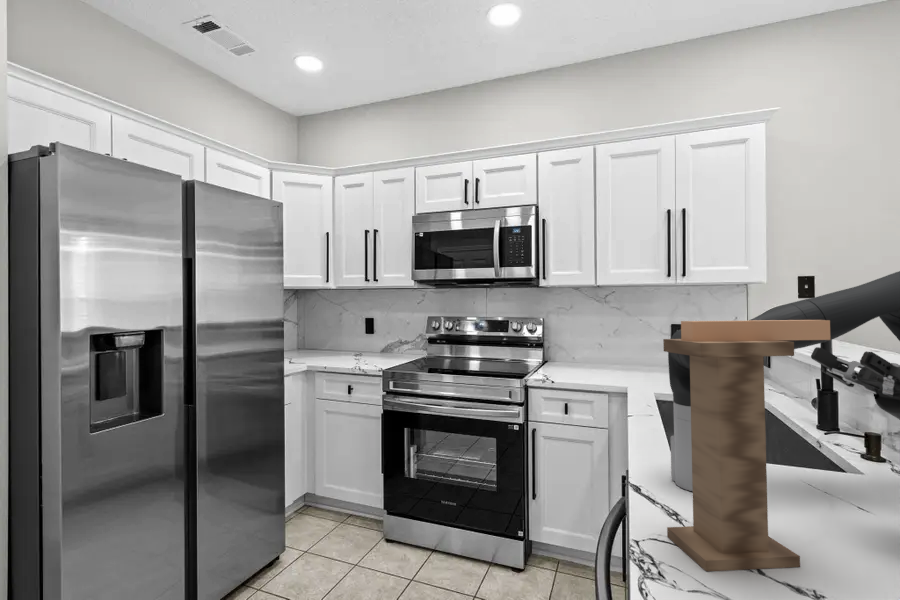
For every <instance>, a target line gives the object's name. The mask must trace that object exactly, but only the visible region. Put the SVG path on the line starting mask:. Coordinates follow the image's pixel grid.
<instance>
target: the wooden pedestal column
mask: <svg viewBox="0 0 900 600" xmlns="http://www.w3.org/2000/svg"><path fill="white" fill-rule="evenodd" d="M662 339H663V352H666V353H668V352H671V353H677V354H684V355H690V395H691V441H692V486H693V491H692V519H693V520H692V522H693V523H692V524H693V525H692V526H691V525H690V526H669V527H668V526H667V527H666V528H667V529H666V530H667V531H666V534H667V535H666V536H667V538H668V539H669V540H670V541H671V542H673V543H674V544H675V545H676V546H677V547H678V548H679V549H681V551H683V552H684V553H685V554H686V555H688V557H689V558H690V559H692V560H693V561H694V562H695V563H696V564H697V565H698V566H699V567H700V568H702V569H703V570H704V571H705V572H723V571H725V572H727V571H739V570H740V571H743V570H744V571H745V570H762V569H763V570H765V569H780V568H781V569H782V568H783V569H784V568H785V569H786V568H800V567H801V556H800V555H799V554H797V553H796V552H794V551H792V550H791V549H790V548H788V547H786V546H785V545H784V544H781V543H780V542H778V541H777V540H775V539H774V538H773V537H771V536H769V521H768V519H769V518H768V516H769V515H768V488H767V487H768V478H767V477H768V475H767V442H766V441H767V440H766V439H767V437H766V436H767V435H766V405H765V404H766V403H765V402H766V401H765V371H764V370H765V367H764V365H765V363H764V357H794V356H795V349H794V342H788V341H696V342H693V341H683V340H681V339H671V338H662Z"/></svg>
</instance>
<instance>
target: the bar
mask: <svg viewBox="0 0 900 600" xmlns="http://www.w3.org/2000/svg"><path fill="white" fill-rule="evenodd" d="M680 329H681V340H683V341H693V342H696V341H776V340H830V320H753V321H748V320H681V321H680ZM830 341H831V340H830Z"/></svg>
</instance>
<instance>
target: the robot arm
mask: <svg viewBox="0 0 900 600" xmlns="http://www.w3.org/2000/svg"><path fill="white" fill-rule="evenodd" d="M876 318H879V319H880V321H882V323H883V324H884V325H885V326H886V327H887V328H888V330H889V331H890V332H891V333H892V334H893V335H894V336H895V338H896V339H897V340H898V341H899V342H900V270H899V271H895V272H893V273H889V274H887V275H885V276H882V277H880V278H877V279H873V280H871V281H868V282H865V283H863V284H859V285H856V286H853V287H849V288H844V289H842V290H841V289H839V290H838V291H837V290H836V291H834V292H830V293H826V294H821V295H819V296H818V295H817V296H815V297H811V298H806V299H801V300H797V301H793V302H789V303H785V304H782V305H779V306H776V307H773V308H770V309H768V310H766V311H764V312H762V313H760V314H758V315H757V316H755V317H753V318H752V319H748V320H747V321H753V320H830V340H776V341H788V342H794V350H798V349H802V348H806V347H807V348H808V347H810V346H815V345H819V344H823V343H826V342H829V341H832V340H835V339H838V338H839V337H841V336H843V335H845V334H847V333H849V332H851V331H853V330H855V329H857V328H858V327H860V326H863V325H864V324H866V323H868V322H870V321H872V320H875V319H876ZM670 339H681V328H680V329H678V330H676V331H675V332H674V333H673V335H672V336H671V338H670ZM667 353H668V354H667V356H668V359H667V362H668V375H669V386H670V388H671V389H670V390H671V393H672V396H673V398H672V400H673V401H672V402H673V435H671V436H670V474H671V475H670V476H671V477H670V478H671V480H672V481H673V482H674V483H675V484H676V485H677V486H678V487H679V488H681V489H683V490H686V491H690V492H693V486H692V441H691V395H690V355H684V354H677V353H671V352H667ZM810 358H811V359H812V360H813V361H815V362H817V363H818V364H819V365H821V368H820V372H822V373H824V374H826V375H828V376H829V377H831V378H833V379H835V380H836V381H838V382H840V383H841V384H843V385H845V386H846V387H849V388H854V386H857V387H860V388H861V389H863V390H864V391H866V392H869V393H871V394H873V398H874V401H875V403H876V405H877V406H878V407H879V408H880V409H881V410H882V411H884V412H886V413H887V414H889V415H891V416H892V417H894V418H896V419H897V420H899V421H900V364H899V363H894V362H890V361H888V360H886V359H885V358H883V357H881V356H879V355H878V354H876V353H875V352H873V351H864V352H863V354H862V356H861V358H860V359H859V361H857V360H852V361H847V360H845V359H843V358H840V357H838V356H836V355H834V354H833V353H831V352H829V351H828V350H826V349H825V348H823V347H821V346H817V347H816V346H815V347H814V349H813V351H812V352H811V355H810ZM856 368H859V371H858V372H857V371H856V370H855V369H856Z"/></svg>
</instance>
